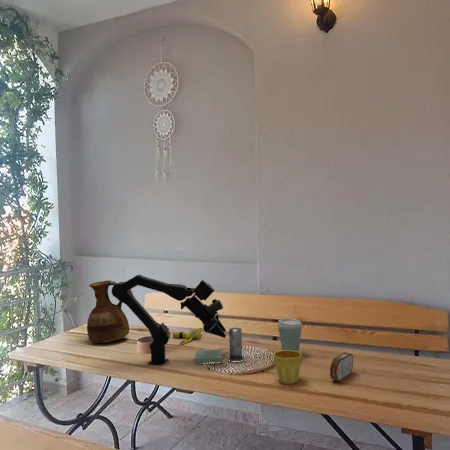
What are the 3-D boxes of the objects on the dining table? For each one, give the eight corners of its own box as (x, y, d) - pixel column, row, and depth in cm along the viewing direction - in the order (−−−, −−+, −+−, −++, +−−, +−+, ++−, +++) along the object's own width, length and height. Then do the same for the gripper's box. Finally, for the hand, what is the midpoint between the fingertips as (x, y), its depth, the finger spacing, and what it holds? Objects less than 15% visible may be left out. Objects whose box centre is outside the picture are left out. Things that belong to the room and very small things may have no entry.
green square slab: (222, 363, 181) (221, 357, 181) (195, 364, 181) (194, 358, 181) (222, 355, 192) (221, 349, 192) (196, 356, 192) (196, 350, 192)
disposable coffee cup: (306, 352, 193) (305, 318, 192) (299, 360, 183) (298, 324, 182) (282, 350, 197) (281, 316, 197) (274, 357, 187) (273, 322, 187)
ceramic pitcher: (87, 337, 227) (85, 279, 226) (127, 333, 233) (125, 276, 232) (87, 348, 208) (85, 284, 208) (131, 343, 214) (129, 281, 214)
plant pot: (269, 378, 164) (268, 351, 164) (293, 374, 167) (293, 348, 167) (282, 388, 154) (281, 360, 154) (308, 383, 158) (307, 355, 158)
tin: (347, 371, 169) (346, 349, 169) (355, 372, 167) (354, 350, 167) (329, 383, 158) (328, 359, 157) (337, 385, 156) (336, 361, 155)
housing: (240, 363, 181) (239, 331, 181) (226, 361, 183) (225, 330, 183) (245, 358, 187) (245, 327, 187) (231, 357, 189) (230, 326, 189)
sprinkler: (180, 324, 231) (206, 325, 226) (180, 332, 231) (207, 333, 226) (162, 340, 213) (191, 341, 207) (163, 348, 213) (192, 349, 208)
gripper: (210, 298, 175) (239, 325, 176) (211, 290, 194) (237, 314, 194) (191, 319, 175) (220, 345, 176) (194, 309, 194) (220, 333, 194)
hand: (225, 334), depth 185 cm, fingers open, 9 cm apart
